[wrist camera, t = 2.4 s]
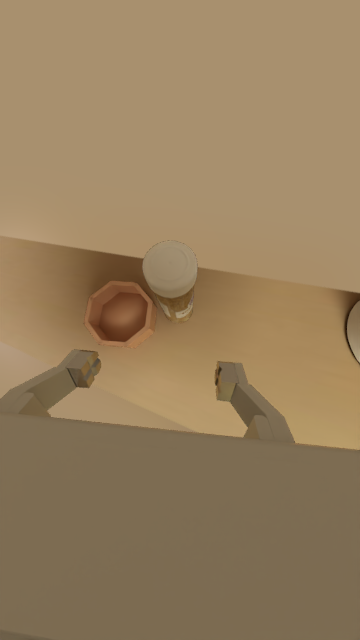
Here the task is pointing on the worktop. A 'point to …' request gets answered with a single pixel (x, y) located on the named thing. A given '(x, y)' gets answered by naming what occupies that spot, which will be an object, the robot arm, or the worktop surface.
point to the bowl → (120, 315)
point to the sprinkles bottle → (172, 278)
